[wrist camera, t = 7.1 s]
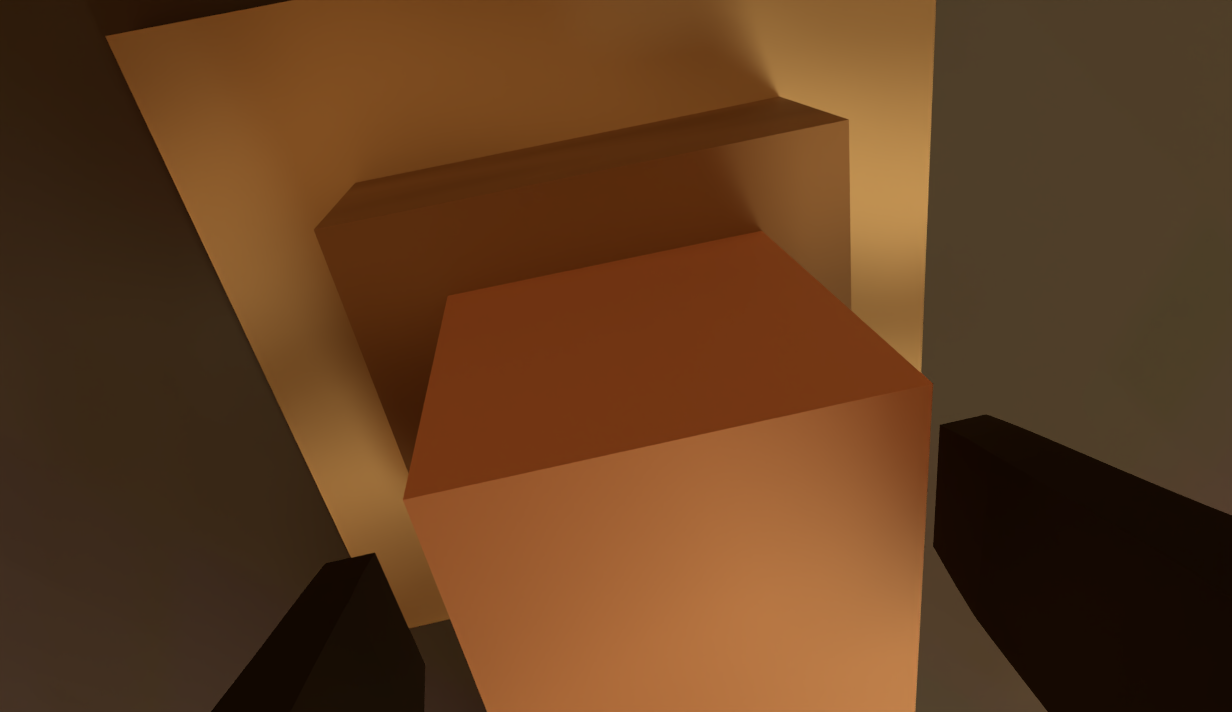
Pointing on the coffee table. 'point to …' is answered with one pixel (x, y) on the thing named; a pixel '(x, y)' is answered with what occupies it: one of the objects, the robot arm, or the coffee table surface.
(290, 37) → the plate
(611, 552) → the terracotta cube
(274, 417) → the coffee table surface
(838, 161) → the walnut slab
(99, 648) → the coffee table surface
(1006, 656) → the robot arm
